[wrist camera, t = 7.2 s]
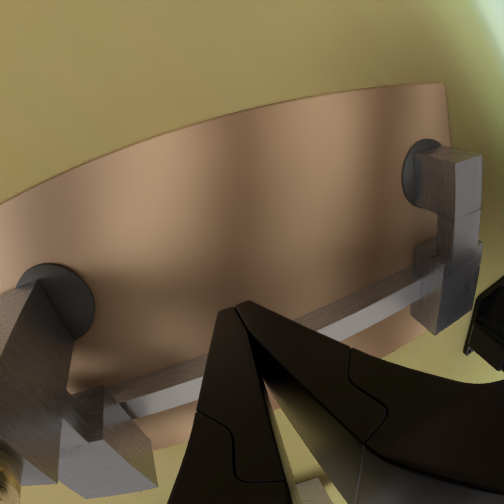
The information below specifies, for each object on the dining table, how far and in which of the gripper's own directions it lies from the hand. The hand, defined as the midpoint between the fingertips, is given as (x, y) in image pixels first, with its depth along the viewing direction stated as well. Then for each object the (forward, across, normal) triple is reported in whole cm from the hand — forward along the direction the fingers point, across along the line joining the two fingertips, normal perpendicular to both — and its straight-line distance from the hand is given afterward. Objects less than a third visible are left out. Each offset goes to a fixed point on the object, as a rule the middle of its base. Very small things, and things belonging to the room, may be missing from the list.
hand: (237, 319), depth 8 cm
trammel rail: (+4, -1, +2) cm, 5 cm away
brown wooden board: (+5, -1, +2) cm, 6 cm away
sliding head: (+3, +7, +2) cm, 8 cm away
